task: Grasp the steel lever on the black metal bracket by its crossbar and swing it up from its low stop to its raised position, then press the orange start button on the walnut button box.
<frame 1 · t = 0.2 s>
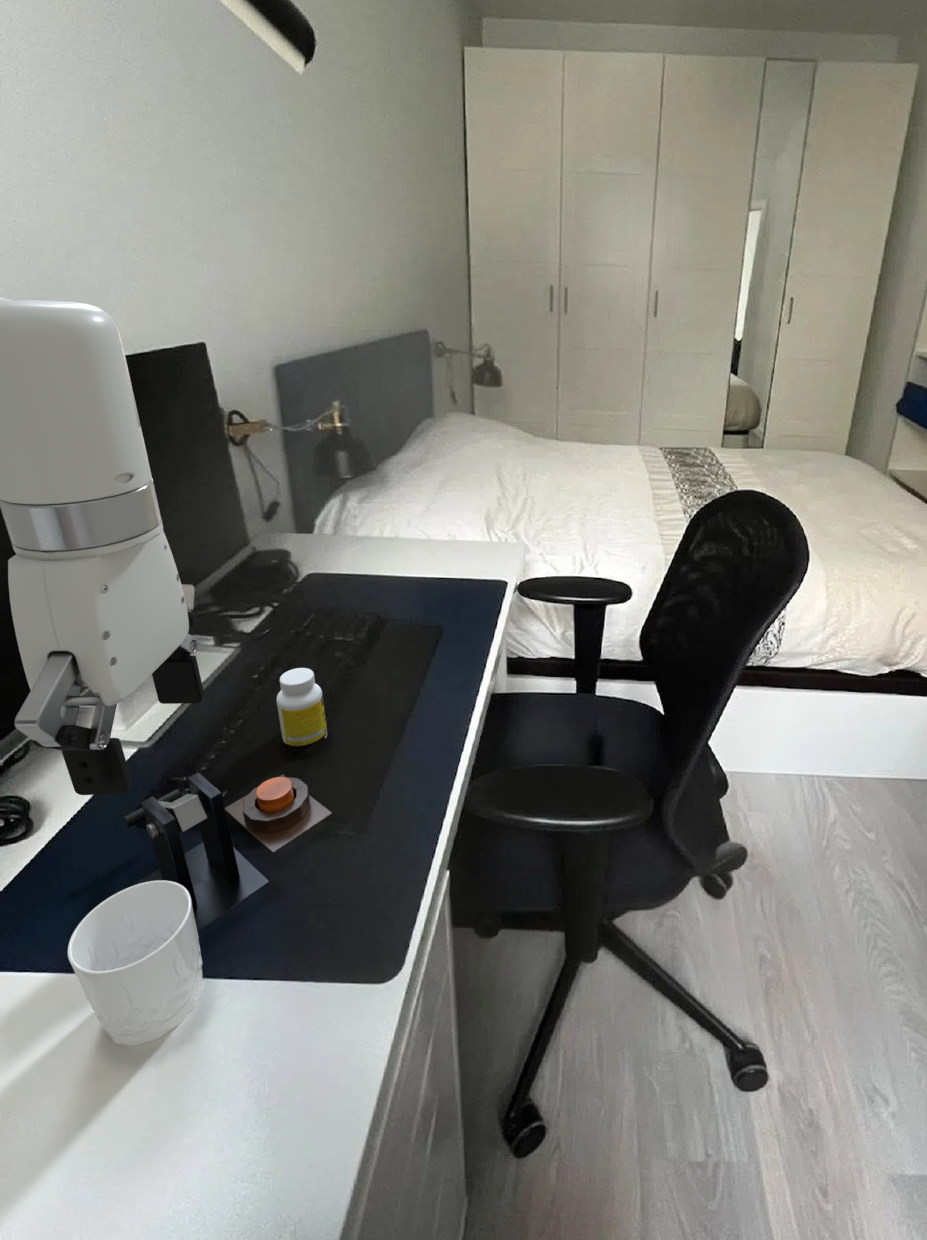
hand: (147, 742, 46), 25 cm above the table, tool pointing down, fingers open, 9 cm apart
lever: (169, 810, 63), point 8 cm above the table, hinge at -28.0°
supplement bottle: (306, 741, 85), on the table
button box: (279, 818, 73), on the table
start button: (275, 794, 71), point 3 cm above the table, slide at 0.1 cm
bracket: (205, 891, 64), on the table
white cup: (159, 1011, 54), on the table
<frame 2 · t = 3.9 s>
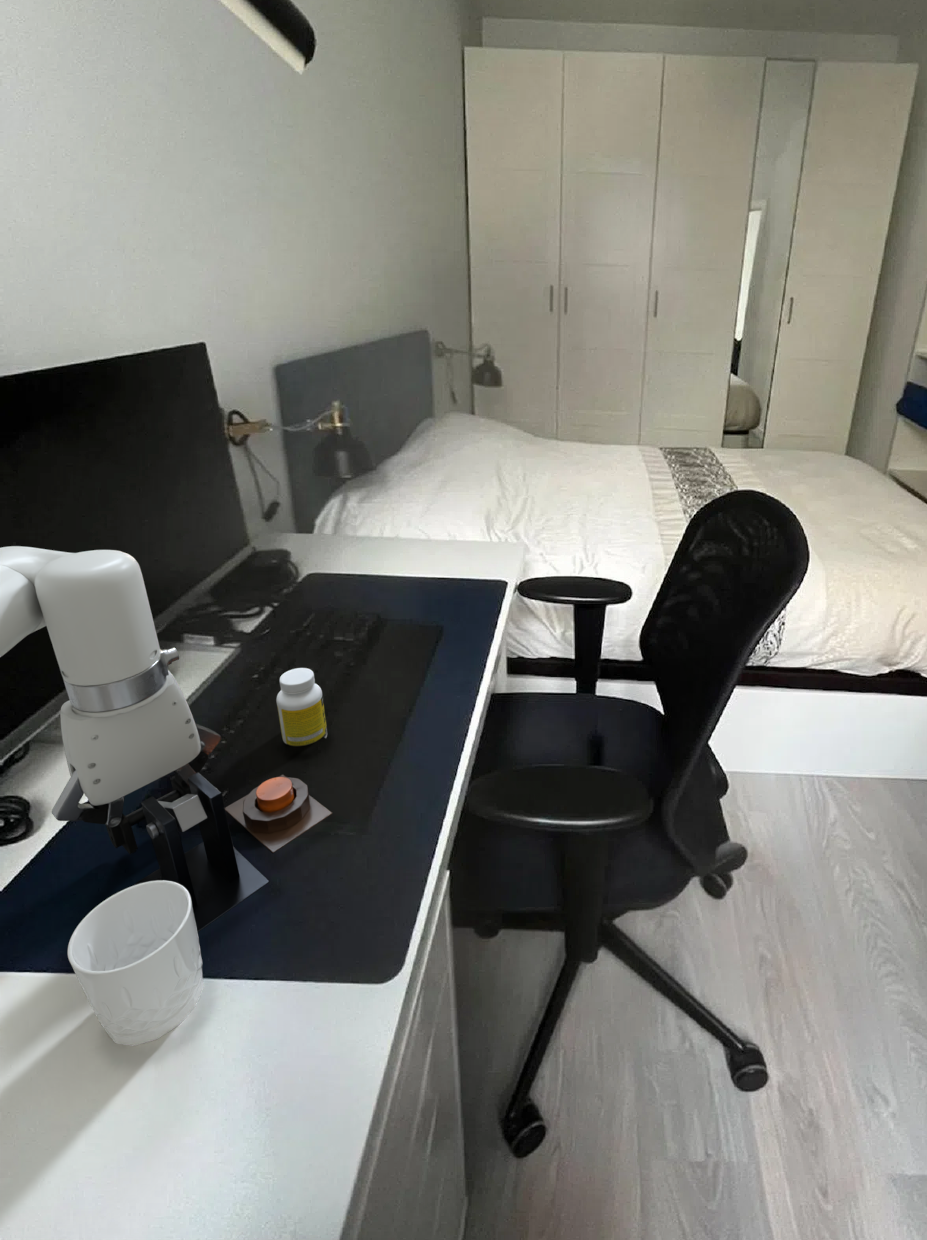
hand: (158, 827, 68), 3 cm above the table, tool pointing down, fingers closed on lever, 5 cm apart
lever: (169, 810, 63), point 8 cm above the table, hinge at -28.0°, touching gripper
everything else where it was.
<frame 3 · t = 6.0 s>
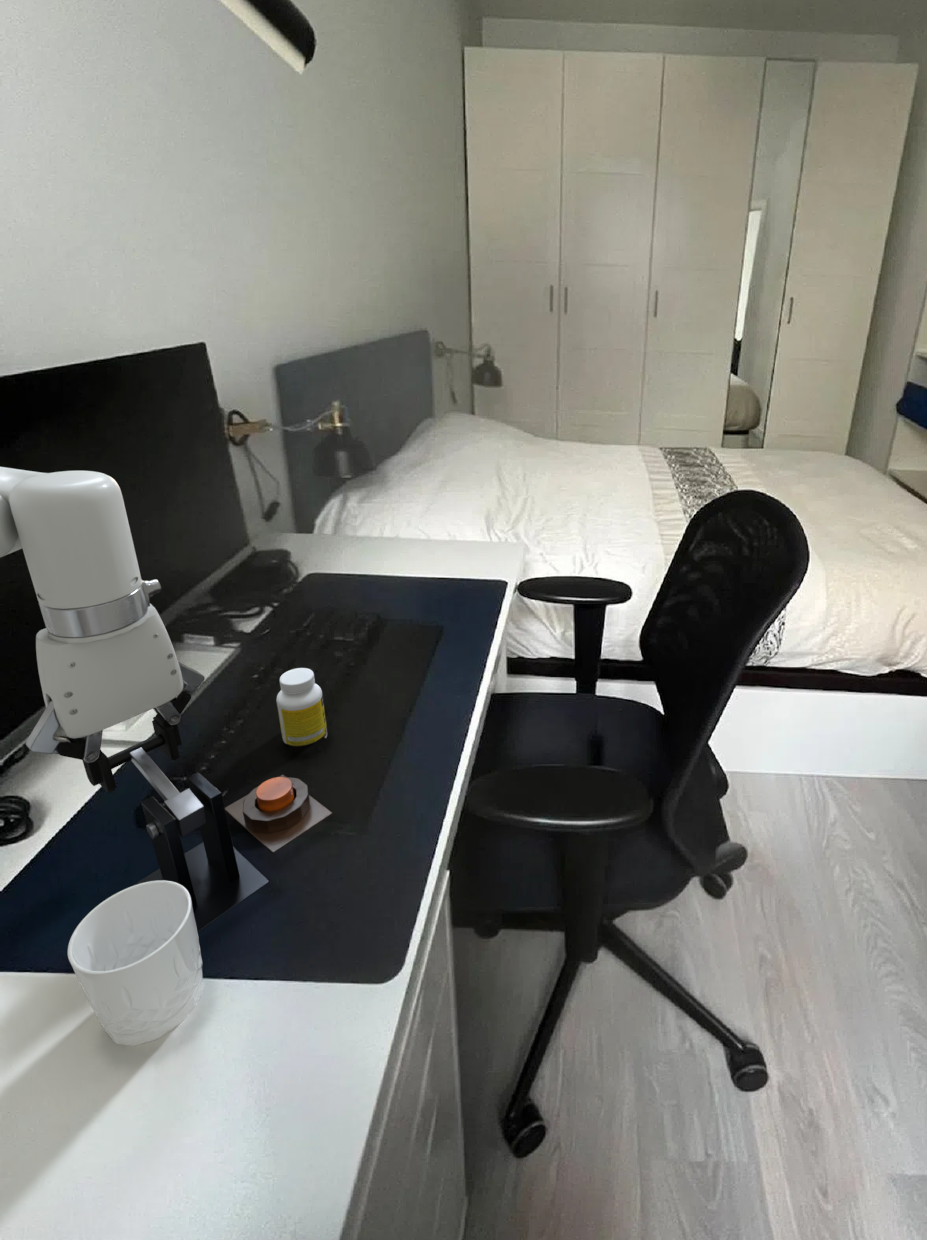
hand: (138, 767, 65), 10 cm above the table, tool pointing down, fingers closed on lever, 5 cm apart
lever: (161, 783, 62), point 11 cm above the table, hinge at 11.3°, touching gripper
everything else where it was.
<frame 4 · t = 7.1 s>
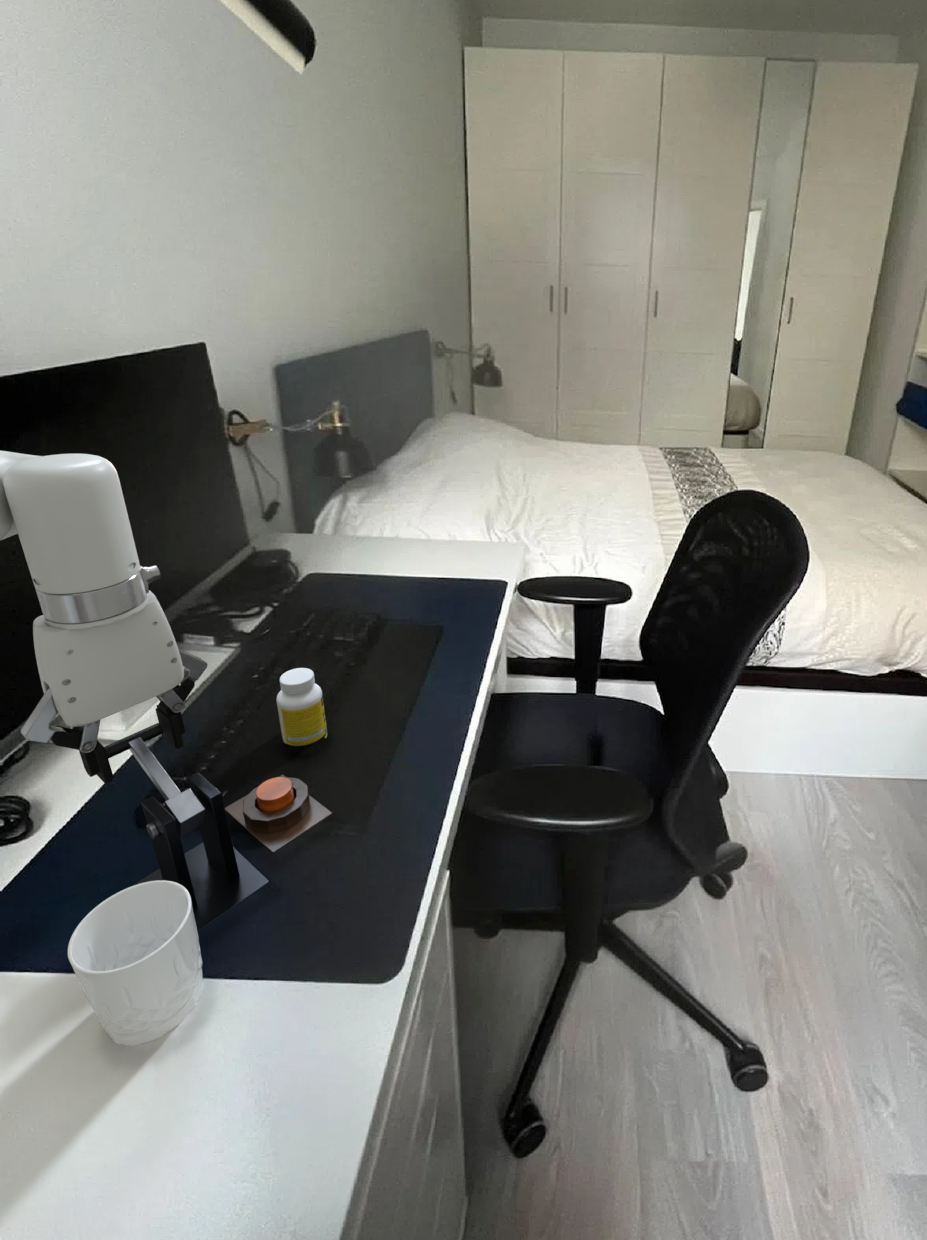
hand: (139, 757, 64), 12 cm above the table, tool pointing down, fingers open, 5 cm apart
lever: (160, 778, 62), point 12 cm above the table, hinge at 20.7°
everything else where it was.
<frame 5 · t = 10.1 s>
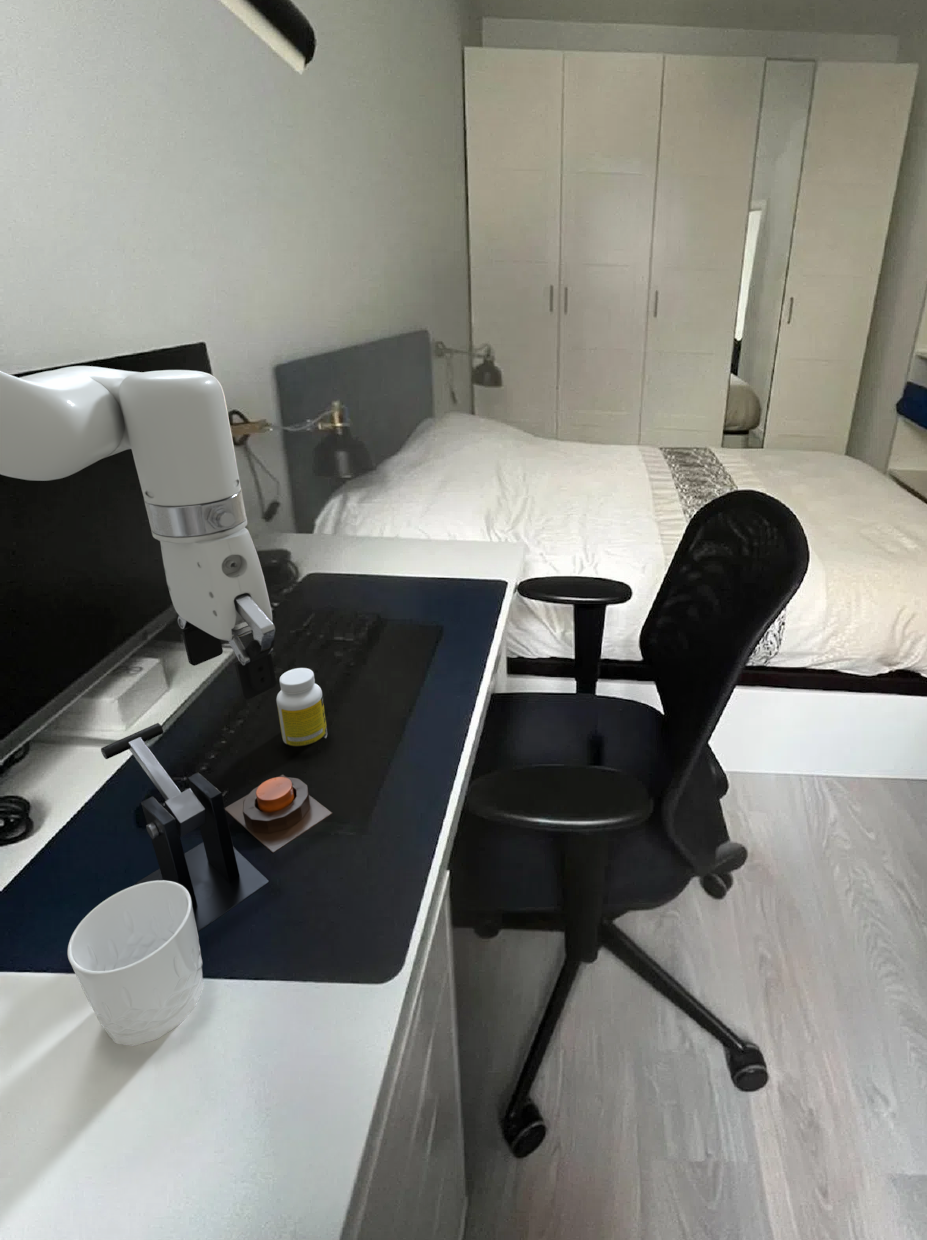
hand: (232, 675, 65), 19 cm above the table, tool pointing down, fingers open, 9 cm apart
nothing on the table moved.
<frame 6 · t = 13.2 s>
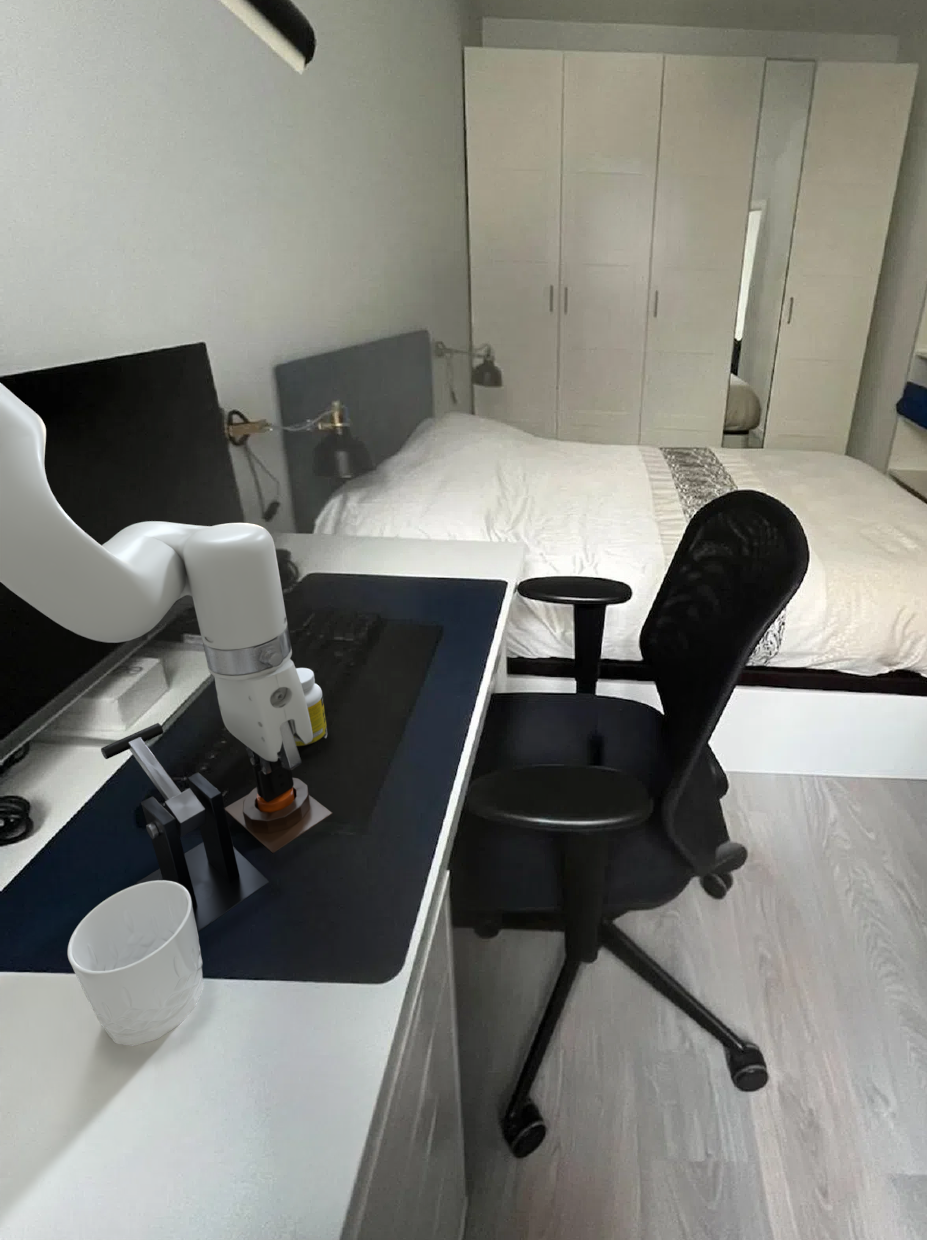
hand: (276, 791, 71), 4 cm above the table, tool pointing down, fingers closed
start button: (275, 798, 72), point 3 cm above the table, slide at -0.4 cm, touching gripper
everything else where it was.
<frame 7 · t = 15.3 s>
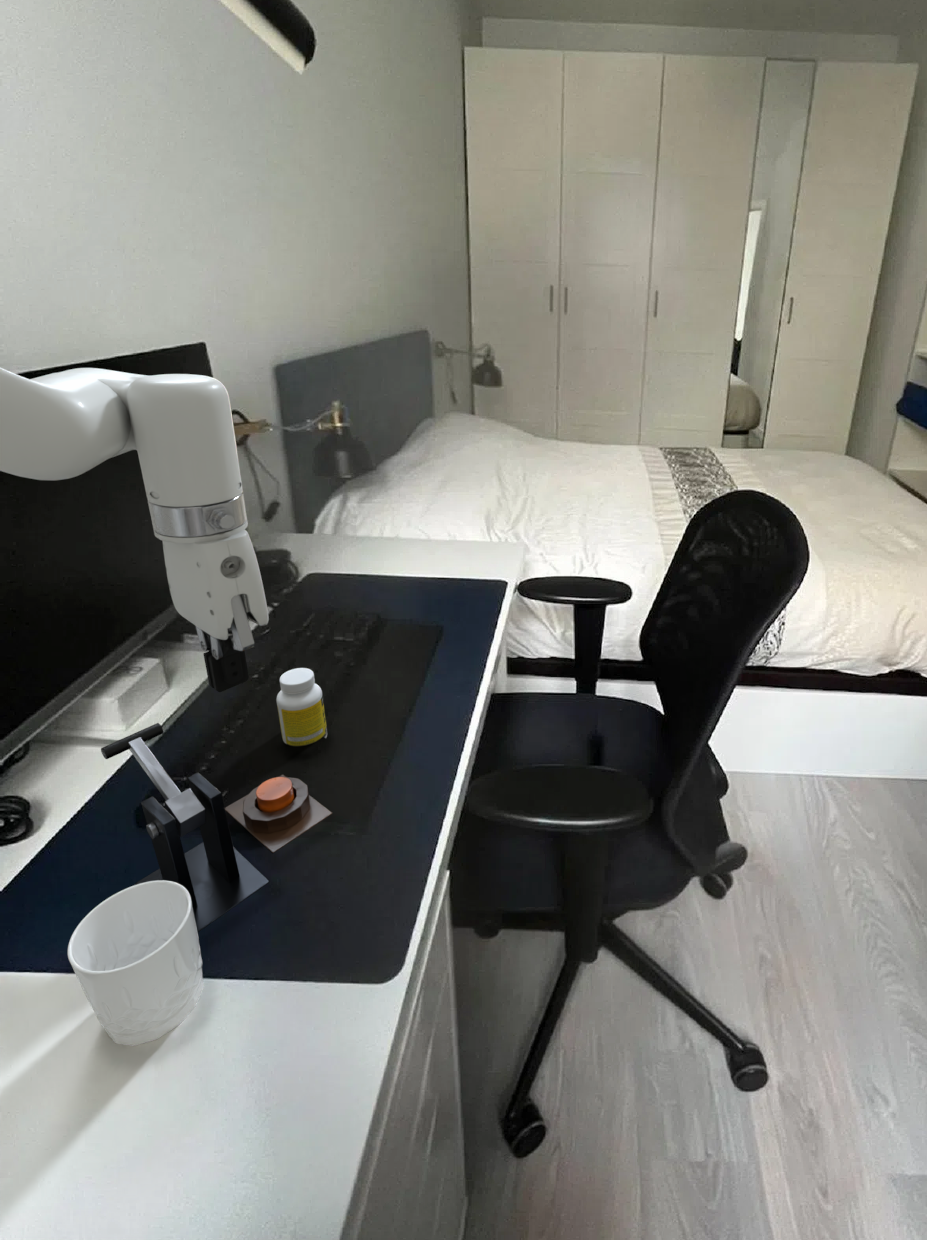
hand: (229, 683, 66), 18 cm above the table, tool pointing down, fingers closed
start button: (275, 794, 71), point 3 cm above the table, slide at 0.1 cm
everything else where it was.
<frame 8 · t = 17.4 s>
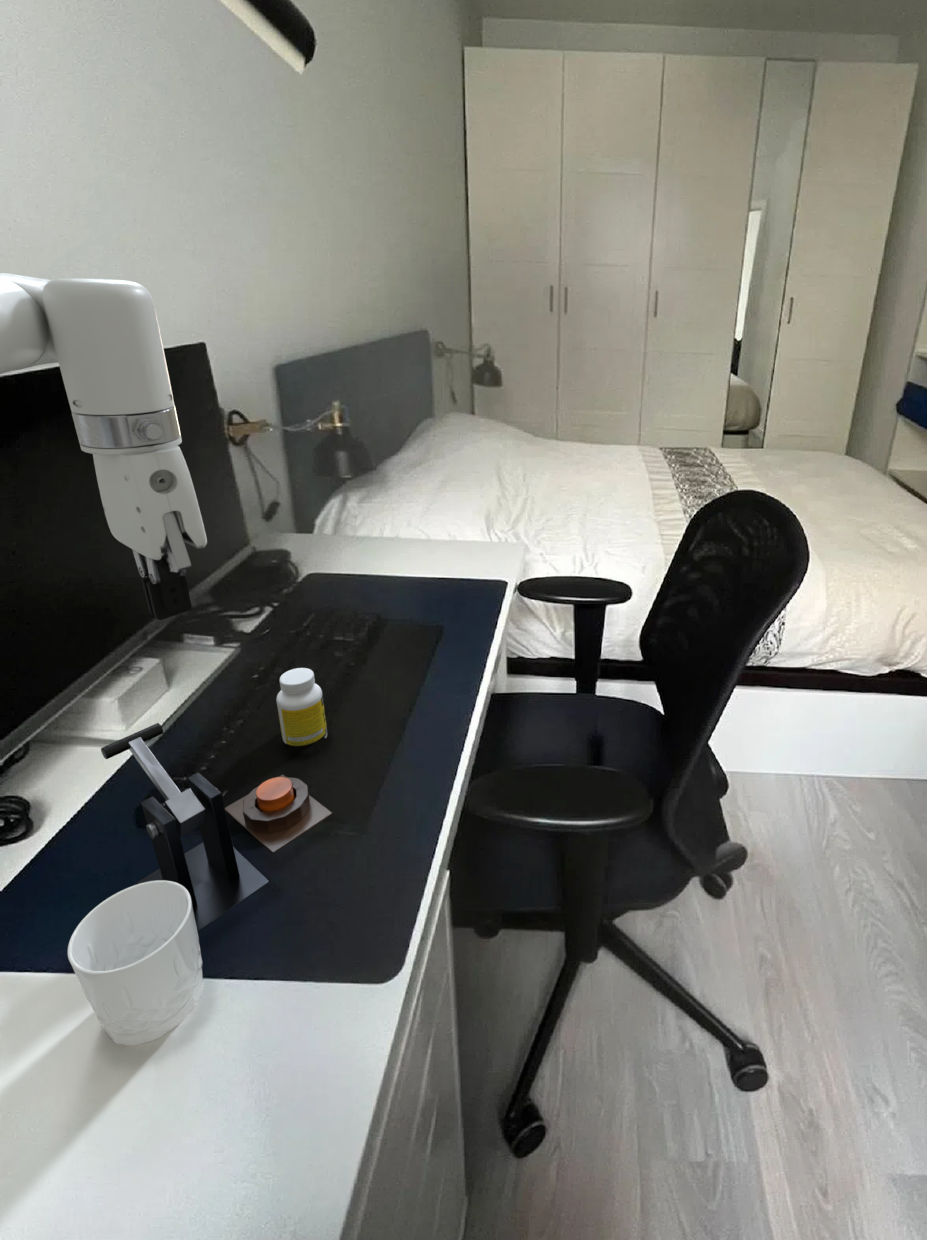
hand: (171, 612, 64), 25 cm above the table, tool pointing down, fingers closed
nothing on the table moved.
at the end: lever at +21° (first picture: -28°); start button pushed in 1.1 cm at the most during the clip, back to where it started at the end; start button slide at 0.1 cm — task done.
